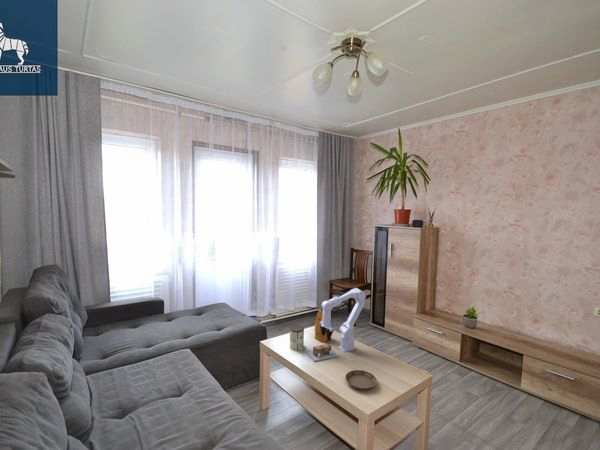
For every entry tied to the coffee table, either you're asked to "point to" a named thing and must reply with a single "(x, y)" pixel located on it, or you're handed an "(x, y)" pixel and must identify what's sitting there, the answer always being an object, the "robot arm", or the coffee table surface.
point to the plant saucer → (361, 380)
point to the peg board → (323, 357)
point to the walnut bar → (321, 350)
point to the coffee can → (296, 337)
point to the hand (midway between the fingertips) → (326, 337)
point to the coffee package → (318, 330)
